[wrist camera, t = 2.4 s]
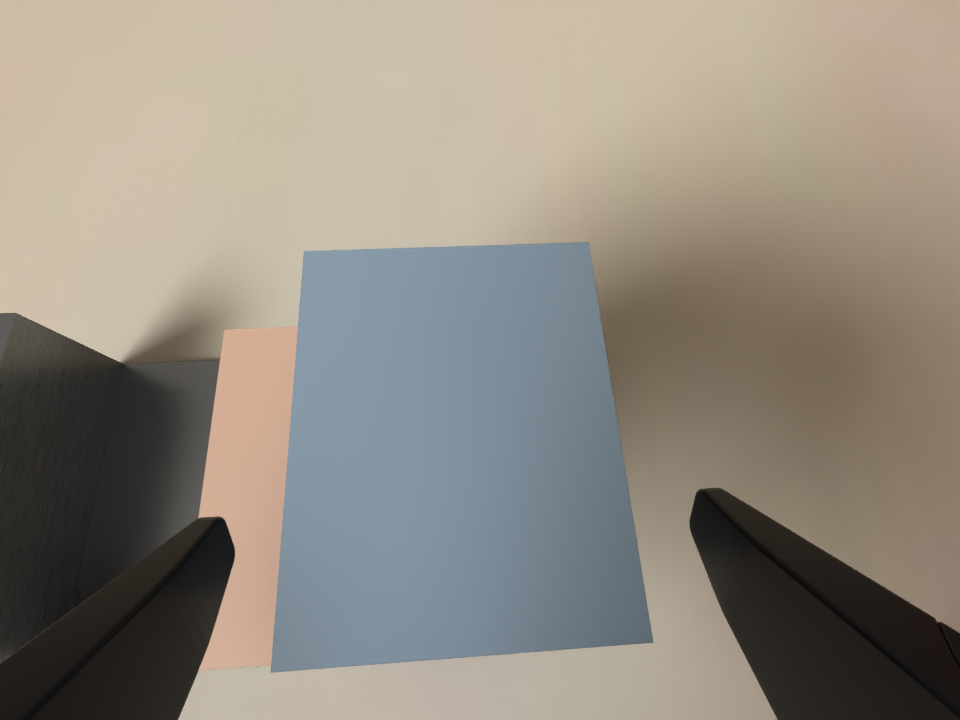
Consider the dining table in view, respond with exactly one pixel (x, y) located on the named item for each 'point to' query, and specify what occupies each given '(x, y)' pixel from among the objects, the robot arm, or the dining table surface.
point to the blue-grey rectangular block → (453, 462)
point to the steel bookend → (89, 468)
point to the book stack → (249, 486)
